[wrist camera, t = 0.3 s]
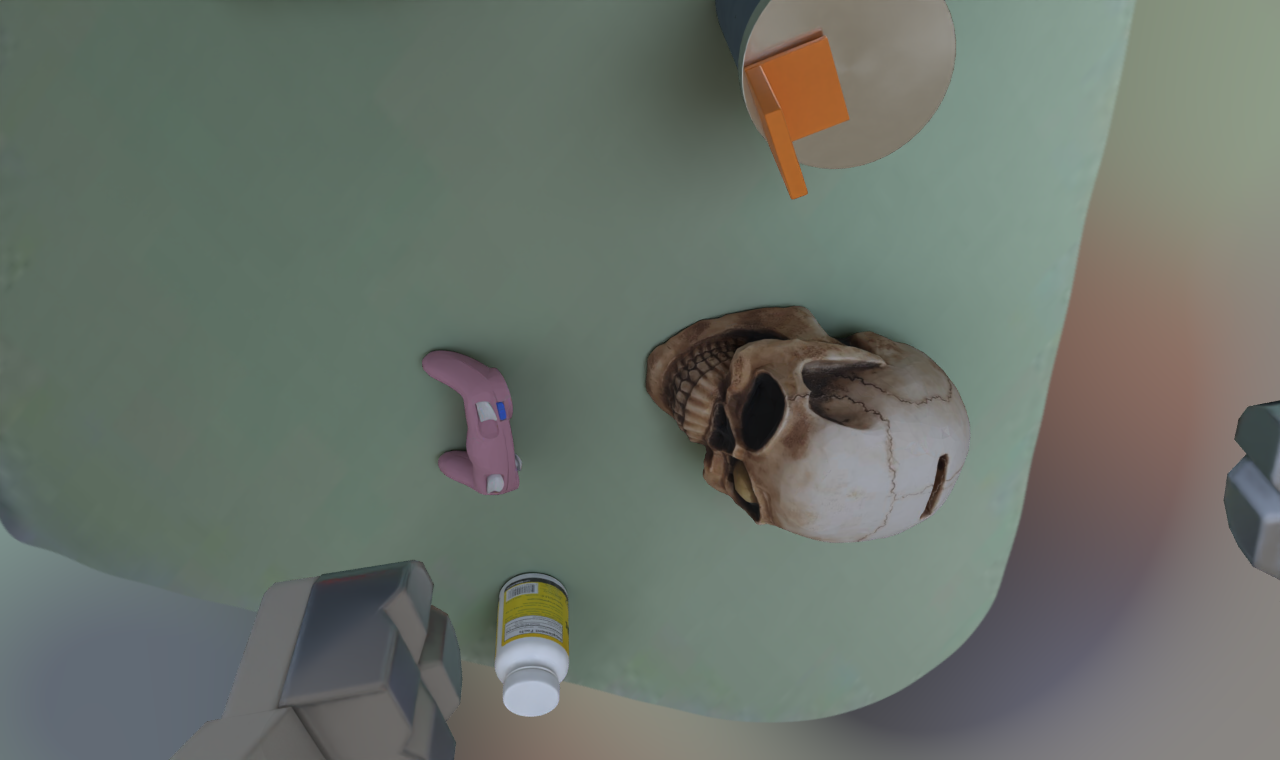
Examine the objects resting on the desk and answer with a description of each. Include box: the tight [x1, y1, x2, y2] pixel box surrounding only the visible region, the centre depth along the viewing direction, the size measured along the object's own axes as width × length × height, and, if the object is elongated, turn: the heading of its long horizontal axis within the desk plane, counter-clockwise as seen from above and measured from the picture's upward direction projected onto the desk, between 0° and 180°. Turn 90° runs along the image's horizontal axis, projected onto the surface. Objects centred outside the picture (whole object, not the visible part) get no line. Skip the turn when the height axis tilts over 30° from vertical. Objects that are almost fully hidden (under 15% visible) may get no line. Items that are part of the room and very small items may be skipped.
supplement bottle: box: [495, 573, 569, 716], centre depth 74 cm, size 5×5×10 cm
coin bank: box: [646, 306, 970, 543], centre depth 63 cm, size 16×17×13 cm
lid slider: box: [744, 36, 850, 199], centre depth 40 cm, size 4×4×6 cm
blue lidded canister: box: [715, 0, 956, 169], centre depth 48 cm, size 9×9×12 cm
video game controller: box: [422, 350, 522, 495], centre depth 65 cm, size 10×5×7 cm, turn 0°
